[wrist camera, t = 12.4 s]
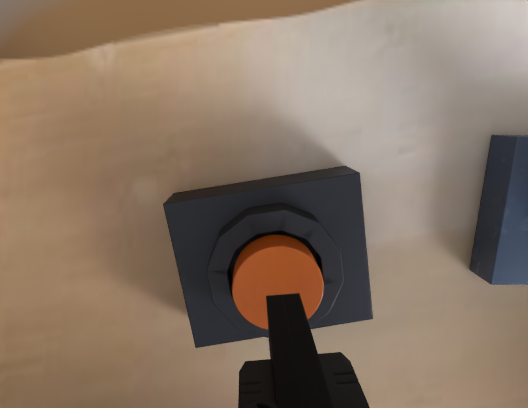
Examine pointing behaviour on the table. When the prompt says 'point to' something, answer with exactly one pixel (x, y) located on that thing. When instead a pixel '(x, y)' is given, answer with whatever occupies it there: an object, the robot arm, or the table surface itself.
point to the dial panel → (503, 214)
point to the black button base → (262, 224)
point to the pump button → (275, 276)
